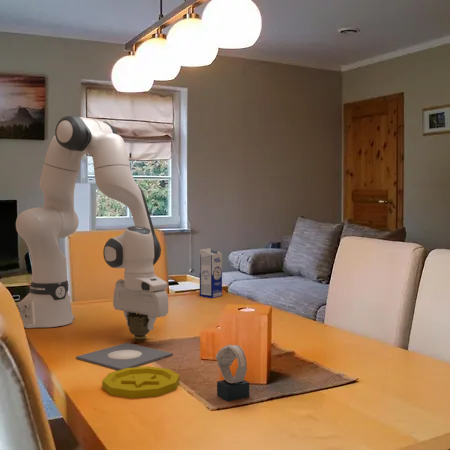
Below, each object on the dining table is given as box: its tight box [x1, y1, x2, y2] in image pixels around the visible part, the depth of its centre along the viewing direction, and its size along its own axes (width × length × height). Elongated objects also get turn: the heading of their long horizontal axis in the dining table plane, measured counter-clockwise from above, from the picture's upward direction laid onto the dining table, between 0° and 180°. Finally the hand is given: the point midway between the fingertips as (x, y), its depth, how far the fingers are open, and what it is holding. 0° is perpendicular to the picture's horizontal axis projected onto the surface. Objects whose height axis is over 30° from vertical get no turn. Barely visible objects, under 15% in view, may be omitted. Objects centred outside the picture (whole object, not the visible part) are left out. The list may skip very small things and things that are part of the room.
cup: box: [127, 312, 151, 342], centre depth 177 cm, size 8×7×8 cm
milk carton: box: [199, 247, 223, 299], centre depth 249 cm, size 7×7×20 cm
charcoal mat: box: [75, 342, 174, 371], centre depth 159 cm, size 18×18×1 cm
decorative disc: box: [101, 365, 180, 399], centre depth 136 cm, size 17×18×2 cm
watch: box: [214, 344, 250, 402], centre depth 128 cm, size 6×8×11 cm
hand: (140, 327), depth 177 cm, fingers closed on cup, 7 cm apart
